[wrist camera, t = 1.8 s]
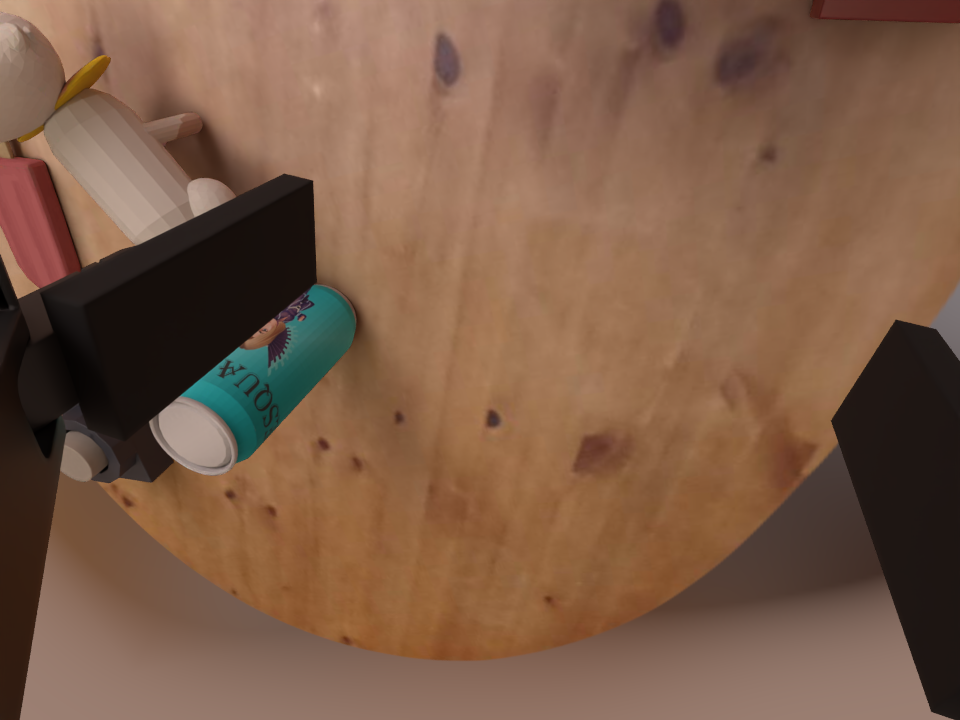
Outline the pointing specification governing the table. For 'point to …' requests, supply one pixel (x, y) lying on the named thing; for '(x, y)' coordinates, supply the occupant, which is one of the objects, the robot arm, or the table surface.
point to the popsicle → (34, 220)
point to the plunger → (82, 457)
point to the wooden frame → (888, 10)
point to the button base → (123, 451)
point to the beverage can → (257, 384)
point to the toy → (99, 136)
